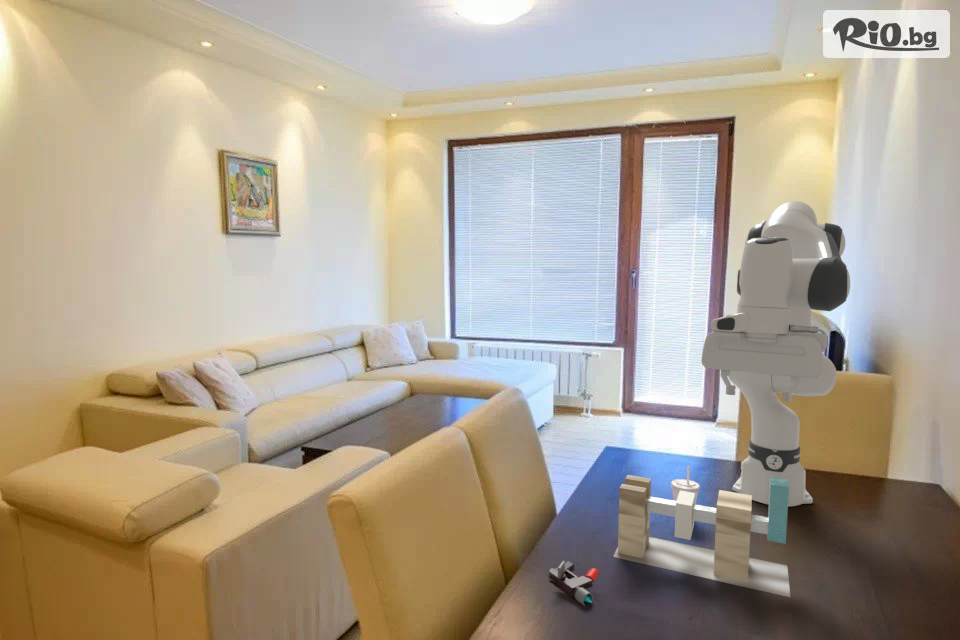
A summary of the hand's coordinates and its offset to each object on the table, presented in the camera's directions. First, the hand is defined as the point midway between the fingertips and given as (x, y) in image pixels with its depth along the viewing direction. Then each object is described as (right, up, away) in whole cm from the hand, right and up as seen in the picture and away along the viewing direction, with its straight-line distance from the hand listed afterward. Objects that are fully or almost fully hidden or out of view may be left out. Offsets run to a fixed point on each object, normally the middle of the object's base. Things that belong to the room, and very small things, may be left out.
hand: (757, 397), depth 105 cm
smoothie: (-3, -34, +29) cm, 44 cm away
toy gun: (-32, -37, +3) cm, 49 cm away
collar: (-10, -29, +10) cm, 32 cm away
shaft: (-6, -27, +8) cm, 28 cm away
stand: (-7, -36, +9) cm, 37 cm away
